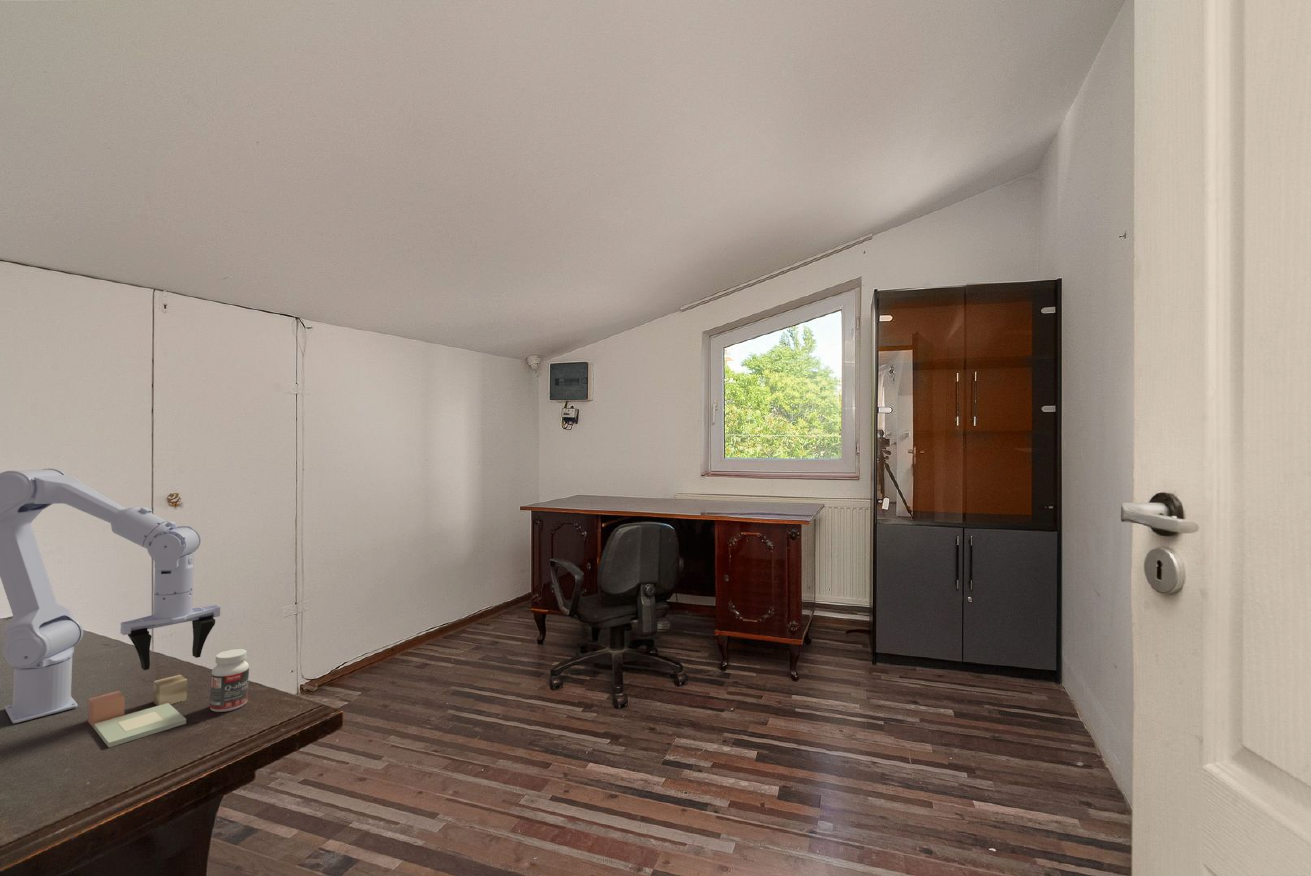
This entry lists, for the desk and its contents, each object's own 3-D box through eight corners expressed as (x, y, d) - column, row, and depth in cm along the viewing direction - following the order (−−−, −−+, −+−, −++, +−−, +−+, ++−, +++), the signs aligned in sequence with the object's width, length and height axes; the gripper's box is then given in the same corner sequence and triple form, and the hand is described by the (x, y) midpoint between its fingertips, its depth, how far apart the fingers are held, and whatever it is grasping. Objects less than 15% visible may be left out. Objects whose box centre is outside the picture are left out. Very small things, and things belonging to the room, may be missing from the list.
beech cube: (153, 702, 107) (153, 681, 107) (179, 694, 110) (180, 674, 111) (159, 708, 105) (160, 686, 105) (186, 700, 108) (187, 679, 108)
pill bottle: (227, 714, 103) (229, 660, 103) (201, 711, 104) (203, 657, 104) (255, 701, 109) (257, 649, 109) (230, 697, 110) (232, 646, 110)
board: (93, 728, 97) (93, 723, 97) (168, 707, 105) (168, 702, 105) (108, 747, 91) (108, 742, 91) (186, 723, 99) (186, 718, 99)
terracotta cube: (87, 721, 100) (88, 698, 100) (118, 712, 103) (118, 690, 103) (93, 728, 97) (93, 705, 97) (124, 719, 101) (124, 696, 101)
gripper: (129, 603, 100) (126, 680, 100) (226, 587, 112) (224, 655, 111) (118, 596, 104) (116, 670, 104) (213, 581, 116) (211, 647, 115)
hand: (171, 662), depth 108 cm, fingers open, 7 cm apart
